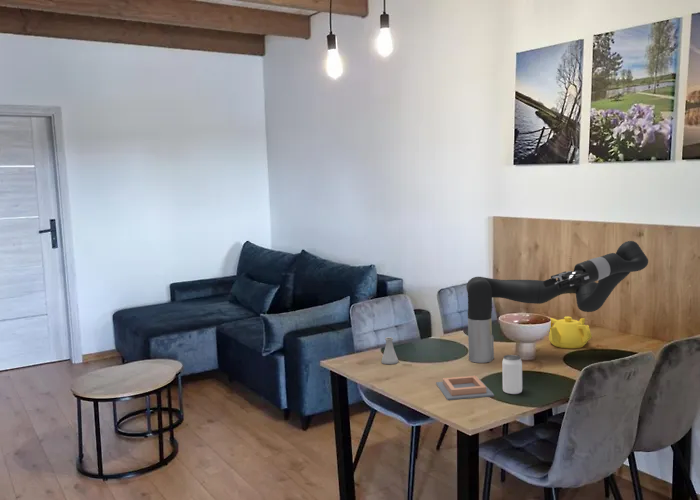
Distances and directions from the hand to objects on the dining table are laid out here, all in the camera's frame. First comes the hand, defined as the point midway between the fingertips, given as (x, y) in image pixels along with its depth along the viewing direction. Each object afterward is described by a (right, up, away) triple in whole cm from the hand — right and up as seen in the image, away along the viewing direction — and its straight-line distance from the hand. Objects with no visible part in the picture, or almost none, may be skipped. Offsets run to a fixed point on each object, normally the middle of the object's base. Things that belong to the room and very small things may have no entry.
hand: (550, 285), depth 202 cm
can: (-11, -37, +5) cm, 39 cm away
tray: (-27, -37, +9) cm, 47 cm away
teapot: (+26, -29, +56) cm, 68 cm away
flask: (-51, -34, +43) cm, 75 cm away
